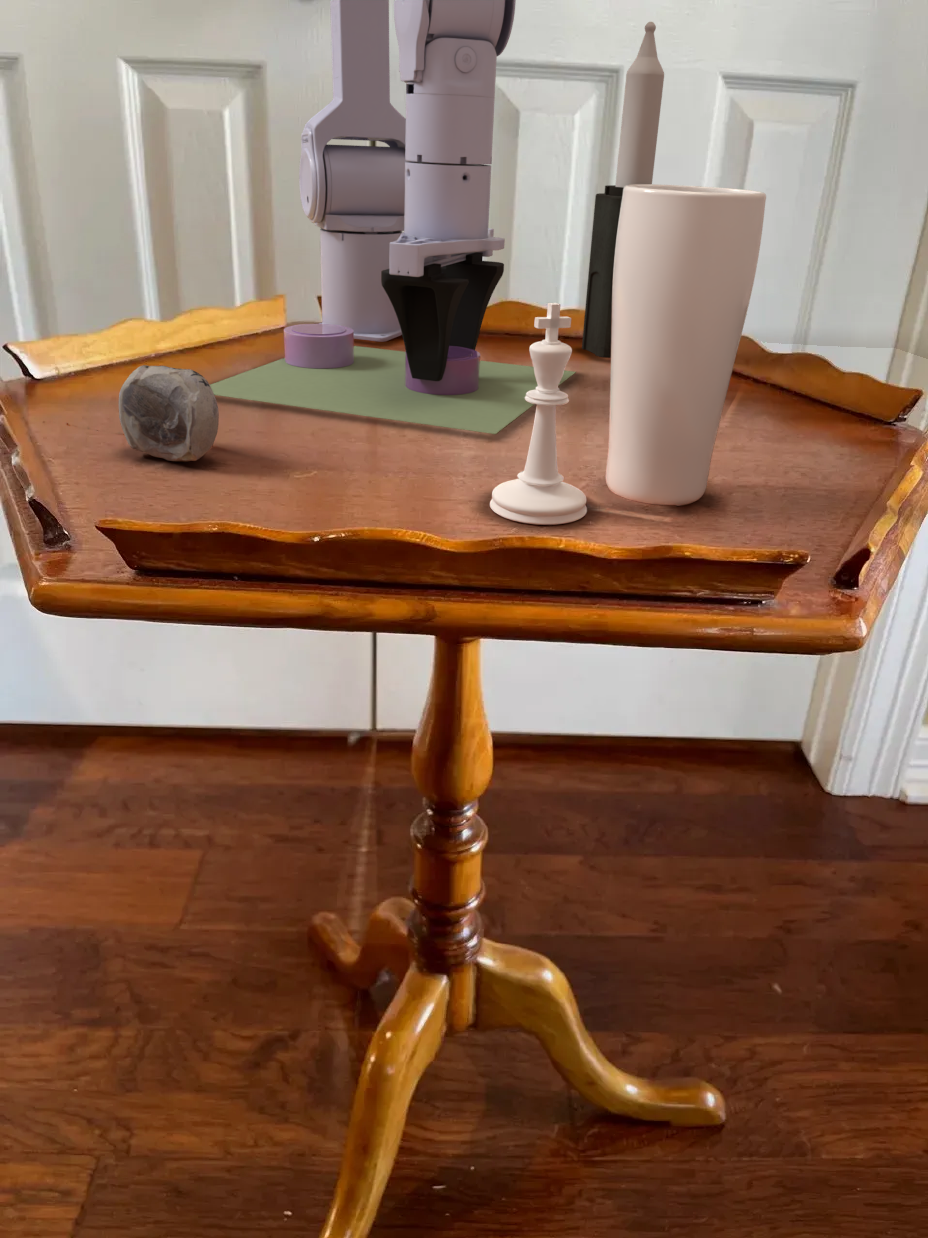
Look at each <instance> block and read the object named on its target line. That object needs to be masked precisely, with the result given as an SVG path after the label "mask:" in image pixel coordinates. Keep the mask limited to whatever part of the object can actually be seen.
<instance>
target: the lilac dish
mask: <svg viewBox="0 0 928 1238" xmlns="http://www.w3.org/2000/svg"><path fill="white" fill-rule="evenodd" d="M354 346H355V339H354V330H353V329H351V328H348V327H345V326H340V325H331V324H319V323H303V324H301V323H300V324H293V325H289V326H286V327H284V329H283V347H284V348H283V349H284V350H283V351H284V352H283V353H284V358H285V362H286V363H287V364H290V365H293V366H297V367H303V368H315V369H328V368H340V367H345V366H349V365H351V364H353V363H354Z"/></svg>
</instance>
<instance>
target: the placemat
mask: <svg viewBox="0 0 928 1238" xmlns="http://www.w3.org/2000/svg"><path fill="white" fill-rule="evenodd" d="M576 373H577V371H575V370H564V373H563V376H562V378H561V381H560V383H559V385H558V387H559V386H561V385H562V384H563V383H564V382H566V381H567V380H569V378H571V377H572V376H574V375H576ZM209 385H210V387H211V389H212V391H213V393H214V396H218V397H224V398H231V399H239V400H247V401H253V402H260V403H266V404H267V403H268V404H275V405H282V406H289V407H297V408H302V409H303V408H304V409H310V410H311V409H312V410H317V411H325V412H331V413H340V414H346V415H354V416H360V417H361V416H362V417H368V418H375V419H380V420H381V419H382V420H390V421H396V422H397V421H398V422H403V423H410V424H418V425H425V426H431V427H440V428H447V429H452V430H453V429H454V430H462V431H469V432H475V433H482V434H490V435H497V434H498V433H499V432H501V431H502V430H504V429H505V428H506V427H507V426H509V425H510V424H511V423H512V422H514V421H515V420H516V419H517V418H519V417H520V416H522V415H523V414H525V413H526V412H527V411H528V410H530V409H531V408H532V407H533V406H535V404H532V403H529V402H527V401H526V400H525V396H526V393H527V392H528V391H530V390H535V389H536V387H537V386H538V384H537V381H536V377H535V373H534V367H533V366H530V365H523V364H522V365H521V364H512V363H505V362H496V361H487V360H480V376H479V389H478V390H477V391H474V392H471V393H467V394H460V395H434V394H426V393H420V392H416V391H413V390H410V389H408V388H407V387H406V386H405V351H403V350H394V349H385V348H376V347H369V346H368V347H367V346H359V345H354V363H353V364H351V365H349V366H345V367H340V368H328V369H315V368H303V367H297V366H293V365H290V364H287V363H286V362H285V357H283V358H280V359H277V360H274V361H271V362H269V363H266V364H263V365H260V366H258V367H255V368H252V369H249V370H246V371H243V372H241V373H238V374H236V375H233V376H230V377H227V378H225V379H222V380H219V381H216V382H214V383H209Z"/></svg>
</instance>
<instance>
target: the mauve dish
mask: <svg viewBox="0 0 928 1238" xmlns="http://www.w3.org/2000/svg"><path fill="white" fill-rule="evenodd" d="M404 352H405V386H406V387H407V388H408V389H410V390H413V391H416V392H420V393H426V394H434V395H460V394H467V393H471V392H474V391H477V390H478V389H479V376H480V361H481V353H480V352H479V351H477V350H476V349H475V350H472V349H469V348H464V347H457V346H449V349H448V357H447V363H446V368H445V372H444V375H443V378H442V380H440V381H430V380H422V379H414V378H412V376H411V372H410V368H409V364H408V359H407V354H406V350H405V351H404Z"/></svg>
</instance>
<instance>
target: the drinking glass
mask: <svg viewBox="0 0 928 1238" xmlns="http://www.w3.org/2000/svg"><path fill="white" fill-rule="evenodd" d="M766 201H767V194H766V193H765V192H763V191H759V190H750V189H743V188H741V189H740V188H731V187H729V188H728V187H715V186H702V185H701V186H700V185H684V184H683V185H681V184H654V183H652V184H632V185H626V186H625V187H624V189H623V196H622V202H621V208H620V215H619V222H618V229H617V237H616V246H615V257H614V269H613V287H612V326H611V358H610V374H609V375H610V377H609V379H610V381H609V382H610V385H609V413H608V419H609V420H608V444H607V445H608V446H607V455H606V456H607V457H606V467H605V477H604V478H605V483H606V486H607V488H608V489H609V491H611V493H612V494H614V495H616V496H618V497H621V498H623V499H625V500H630V501H633V502H637V503H641V504H642V503H643V504H648V505H656V506H658V505H659V506H676V507H680V506H686V505H689V504H692V503H695V502H697V501H699V500H700V499H701V498H702V497H703V496H704V494H705V492H706V491H707V487H708V482H709V477H710V469H711V464H712V463H711V462H712V457H713V452H714V448H715V444H716V441H717V437H718V436H717V435H718V432H719V427H720V423H721V419H722V415H723V410H724V406H725V403H726V399H727V395H728V392H729V391H728V390H729V386H730V383H731V379H732V376H733V369H734V366H735V362H736V358H737V354H738V350H739V346H740V342H741V340H742V339H741V338H742V334H743V331H744V326H745V323H746V318H747V315H748V314H747V313H748V311H749V310H748V309H749V305H750V302H751V297H752V292H753V289H754V284H755V278H756V274H757V268H758V262H759V256H760V249H761V244H762V243H761V242H762V235H763V227H764V219H765V211H766V203H767V202H766Z"/></svg>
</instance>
